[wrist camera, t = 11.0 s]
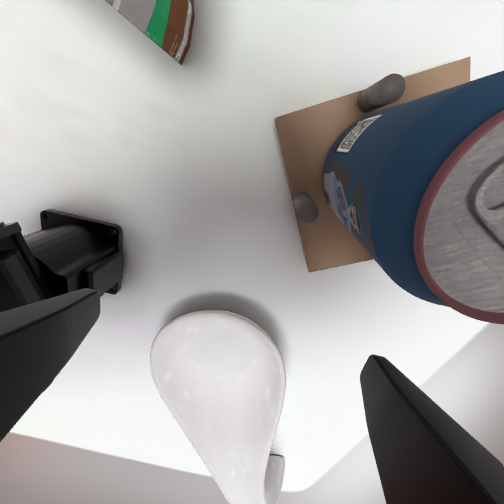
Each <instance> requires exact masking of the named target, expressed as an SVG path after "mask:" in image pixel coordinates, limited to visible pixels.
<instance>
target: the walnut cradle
mask: <svg viewBox="0 0 504 504" xmlns="http://www.w3.org/2000/svg"><path fill="white" fill-rule="evenodd" d="M467 82H470V57H468V58H464V59H461V60H458V61H455V62H452V63H448V64H445V65H442V66H439V67H436V68H433V69H429V70H426V71H423V72H420V73H417V74H413V75H410V76H407V77H404V78H403V77H402V76H401V75H399V74H390V75H388V76H386V77H385V78H383V79H382V80H380V81H378V82H377V83H375V84H373V85H372V86H370V87H369V88H367V89H365V90H362V91H359V92H356V93H353V94H350V95H347V96H343V97H340V98H337V99H334V100H331V101H327V102H324V103H321V104H318V105H315V106H312V107H308V108H305V109H302V110H299V111H296V112H292V113H289V114H286V115H283V116H280V117H277V118H275V122H276V126H277V131H278V136H279V140H280V145H281V149H282V154H283V158H284V163H285V167H286V172H287V177H288V181H289V186H290V190H291V195H292V199H293V204H294V208H295V213H296V217H297V222H298V227H299V231H300V236H301V240H302V245H303V249H304V254H305V258H306V263H307V267H308V271H309V272H313V271H318V270H323V269H328V268H333V267H338V266H342V265H347V264H352V263H357V262H362V261H367V260H372V259H374V258H373V257H372V256H371V255H370V254H369V253H368V252H367V250H366V249H365V248H364V247H363V246H362V245H361V244H360V242H359V241H358V240H357V239H356V238H355V237H354V236H353V234H352V233H351V232H350V231H349V230H348V229H347V227H346V226H345V225H344V224H343V223H342V222H341V221H340V219H339V218H338V217H337V216H336V215H335V214H334V213H333V211H332V210H331V209H330V207H329V205H328V203H327V201H326V199H325V196H324V192H323V186H322V174H323V168H324V164H325V160H326V157H327V155H328V153H329V151H330V149H331V147H332V145H333V144H334V142H335V141H336V139H337V138H338V137H339V136H340V135H341V133H342V132H343V131H344V130H345V129H347V128H348V127H349V126H350V125H351V124H353V123H354V122H356V121H357V120H359V119H361V118H362V117H364V116H366V115H369V114H371V113H375V112H378V111H381V110H384V109H387V108H390V107H393V106H396V105H399V104H402V103H405V102H408V101H412V100H415V99H418V98H421V97H424V96H427V95H430V94H433V93H436V92H439V91H442V90H445V89H449V88H452V87H455V86H458V85H461V84H464V83H467Z"/></svg>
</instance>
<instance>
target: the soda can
mask: <svg viewBox="0 0 504 504" xmlns="http://www.w3.org/2000/svg"><path fill="white" fill-rule="evenodd" d="M322 186H323V192H324V196H325V199H326V201H327V203H328V205H329V207H330V209H331V210H332V211H333V213H334V214H335V215H336V216H337V217H338V218H339V219H340V221H341V222H342V223H343V224H344V225H345V226H346V227H347V229H348V230H349V231H350V232H351V233H352V234H353V236H354V237H355V238H356V239H357V240H358V241H359V242H360V244H361V245H362V246H363V247H364V248H365V249H366V250H367V252H368V253H369V254H370V255H371V256H372V257H373V258H374V260H375V261H376V262H377V263H378V264H379V265H380V266H381V268H382V269H383V270H384V271H385V272H386V273H387V274H388V276H389V277H390V278H391V279H392V280H393V281H394V282H395V283H396V284H397V285H399V286H400V287H401V288H402V289H404V290H405V291H407V292H408V293H410V294H412V295H414V296H416V297H418V298H420V299H423V300H425V301H428V302H431V303H435V304H438V305H443V306H448V307H451V308H453V309H454V310H456V311H458V312H460V313H462V314H464V315H466V316H468V317H471V318H474V319H477V320H481V321H485V322H490V323H497V324H504V71H501V72H498V73H495V74H492V75H489V76H486V77H483V78H479V79H476V80H473V81H470V82H467V83H464V84H461V85H458V86H455V87H452V88H449V89H445V90H442V91H439V92H436V93H433V94H430V95H427V96H424V97H421V98H418V99H415V100H412V101H408V102H405V103H402V104H399V105H396V106H393V107H390V108H387V109H384V110H381V111H378V112H375V113H371V114H369V115H366V116H364V117H362V118H361V119H359V120H357V121H356V122H354V123H353V124H351V125H350V126H349V127H348V128H347V129H345V130H344V131H343V132H342V133H341V135H340V136H339V137H338V138H337V139H336V141H335V142H334V144H333V145H332V147H331V149H330V151H329V153H328V155H327V157H326V160H325V164H324V168H323V174H322Z"/></svg>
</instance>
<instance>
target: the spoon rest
mask: <svg viewBox="0 0 504 504" xmlns="http://www.w3.org/2000/svg"><path fill="white" fill-rule="evenodd" d="M150 365H151V372H152V377H153V380H154V383H155V385H156V387H157V390H158V392H159V394H160V396H161V398H162V399H163V401H164V403H165V405H166V406H167V408H168V409H169V411H170V412H171V414H172V415H173V417H174V419H175V420H176V421H177V423H178V424H179V426H180V427H181V429H182V430H183V432H184V433H185V435H186V436H187V438H188V439H189V441H190V442H191V444H192V445H193V447H194V448H195V450H196V451H197V453H198V455H199V456H200V457H201V459H202V461H203V462H204V464H205V465H206V467H207V468H208V470H209V472H210V473H211V475H212V477H213V478H214V480H215V481H216V483H217V485H218V486H219V488H220V489H221V491H222V492H223V494H224V496H225V497H226V499H227V501H228V502H229V503H230V504H275V503H276V501H277V499H278V496H279V494H280V490H281V487H282V482H283V476H284V467H285V460H284V459H283V458H282V457H280V456H274V455H269V454H270V451H271V447H272V444H273V441H274V437H275V434H276V430H277V427H278V423H279V420H280V416H281V412H282V407H283V402H284V397H285V388H286V374H285V366H284V361H283V358H282V355H281V353H280V351H279V349H278V347H277V345H276V344H275V342H274V341H273V340H272V338H271V337H270V336H269V335H268V334H267V333H266V332H265V331H264V330H263V329H262V328H261V327H260V326H258V325H257V324H256V323H254V322H253V321H251V320H249V319H248V318H246V317H243V316H241V315H239V314H236V313H233V312H229V311H222V310H204V311H195V312H191V313H187V314H184V315H182V316H179V317H177V318H175V319H174V320H172V321H171V322H169V323H168V324H166V325H165V326H164V327H163V328H162V329H161V330H160V331H159V332H158V334H157V335H156V337H155V339H154V341H153V344H152V348H151V354H150Z"/></svg>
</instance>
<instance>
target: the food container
mask: <svg viewBox="0 0 504 504" xmlns="http://www.w3.org/2000/svg"><path fill="white" fill-rule="evenodd" d="M105 1H106V2H108V3H109V4H110V5H111V6H112V7H113V8H115V9H116V10H117V11H118V12H119V13H120V14H122V15H123V16H124V17H125V18H126V19H127V20H129V21H130V22H131V23H132V24H133V25H135V26H136V27H137V28H138V29H139V30H140V31H142V32H143V33H144V34H145V35H146V36H148V37H149V38H150V39H151V40H152V41H154V42H155V43H156V44H157V45H158V46H159V47H161V48H162V49H163V50H164V51H165V52H167V53H168V54H169V55H170V56H171V57H172V58H174V59H175V60H176V61H177V62H178V63H179V64H181V65H182V62H183V60H184V58H185V55H186V53H187V51H188V49H189V46H190V40H191V34H192V28H193V23H194V4H193V0H105Z"/></svg>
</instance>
